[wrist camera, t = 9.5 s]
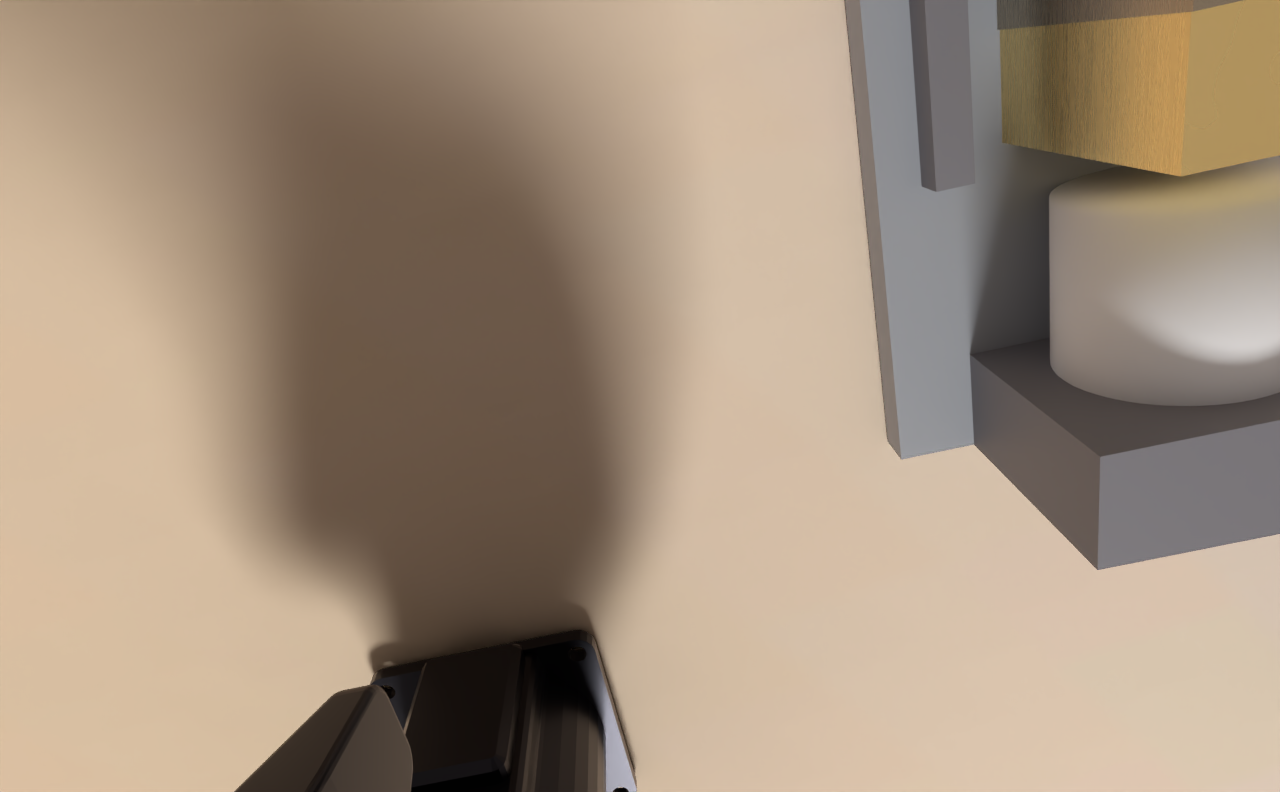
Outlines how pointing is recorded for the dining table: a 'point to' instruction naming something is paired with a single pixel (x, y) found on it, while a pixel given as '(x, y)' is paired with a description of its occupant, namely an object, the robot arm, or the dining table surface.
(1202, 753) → the dining table surface
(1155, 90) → the banded gold block
